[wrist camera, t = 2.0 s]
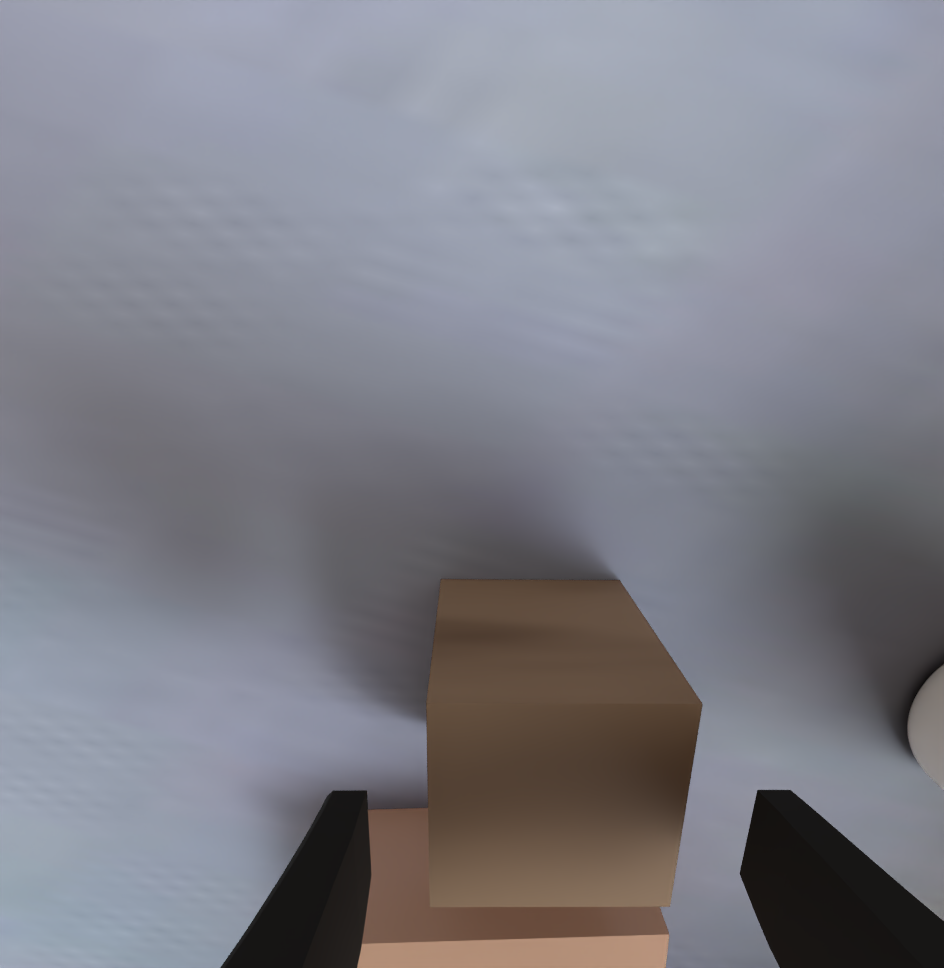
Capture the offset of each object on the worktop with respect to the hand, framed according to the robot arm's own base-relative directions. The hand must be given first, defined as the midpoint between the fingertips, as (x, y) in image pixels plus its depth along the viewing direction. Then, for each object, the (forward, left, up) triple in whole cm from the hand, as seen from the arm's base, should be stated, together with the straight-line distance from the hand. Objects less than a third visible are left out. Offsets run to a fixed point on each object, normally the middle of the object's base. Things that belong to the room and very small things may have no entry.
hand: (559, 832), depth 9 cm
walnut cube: (0, 0, -6) cm, 6 cm away
